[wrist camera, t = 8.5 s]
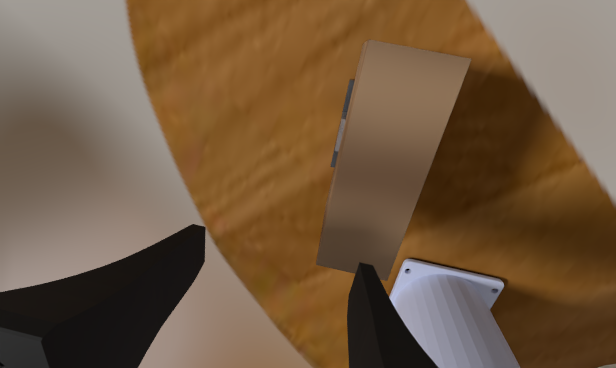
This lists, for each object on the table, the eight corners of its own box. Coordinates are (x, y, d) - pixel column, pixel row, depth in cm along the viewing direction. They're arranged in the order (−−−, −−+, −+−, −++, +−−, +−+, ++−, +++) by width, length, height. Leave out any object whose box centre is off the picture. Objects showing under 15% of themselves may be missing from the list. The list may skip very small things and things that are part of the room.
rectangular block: (377, 217, 20) (387, 280, 14) (325, 206, 20) (315, 264, 14) (429, 56, 15) (471, 58, 10) (362, 43, 15) (369, 39, 10)
